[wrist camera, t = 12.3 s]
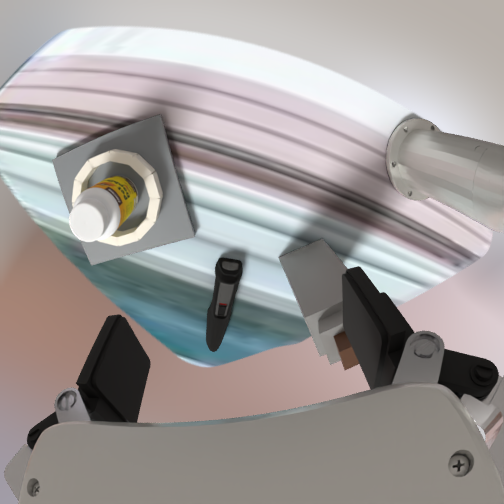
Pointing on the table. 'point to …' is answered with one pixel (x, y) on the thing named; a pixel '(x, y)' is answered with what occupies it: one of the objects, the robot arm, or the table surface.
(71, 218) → the supplement bottle
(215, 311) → the electric trimmer
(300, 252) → the perfume bottle
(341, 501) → the robot arm
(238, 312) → the table surface
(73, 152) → the collar
